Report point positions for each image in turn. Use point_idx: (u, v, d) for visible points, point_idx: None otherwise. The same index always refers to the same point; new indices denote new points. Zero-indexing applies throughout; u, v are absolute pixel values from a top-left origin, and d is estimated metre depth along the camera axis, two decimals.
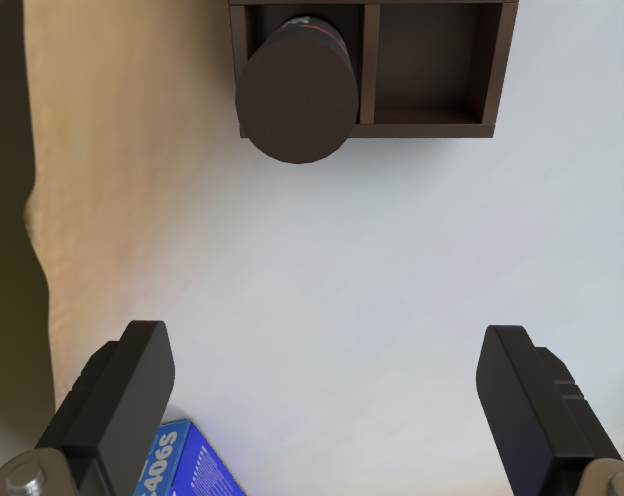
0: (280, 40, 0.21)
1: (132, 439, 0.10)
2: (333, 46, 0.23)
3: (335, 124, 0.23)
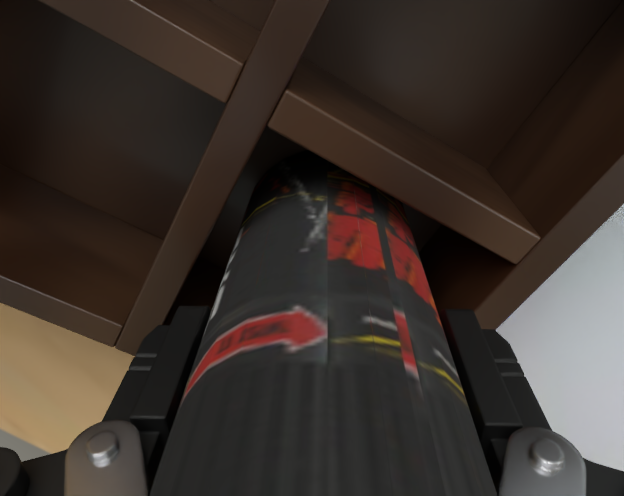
0: None
1: None
2: None
3: None
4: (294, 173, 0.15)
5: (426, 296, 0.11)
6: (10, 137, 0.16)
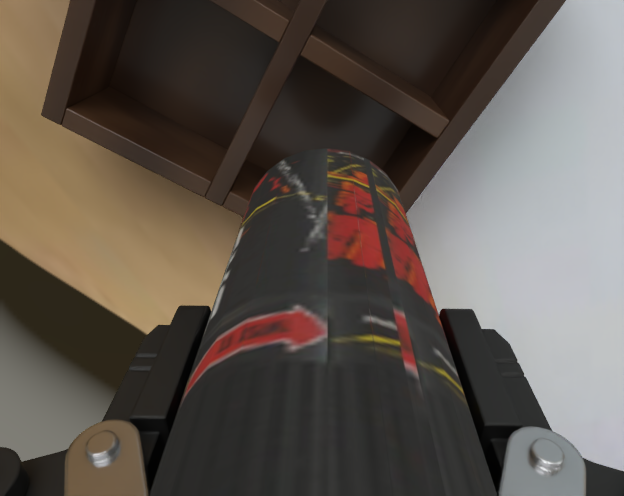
0: None
1: None
2: None
3: None
4: (294, 173, 0.15)
5: (426, 296, 0.11)
6: (134, 77, 0.26)
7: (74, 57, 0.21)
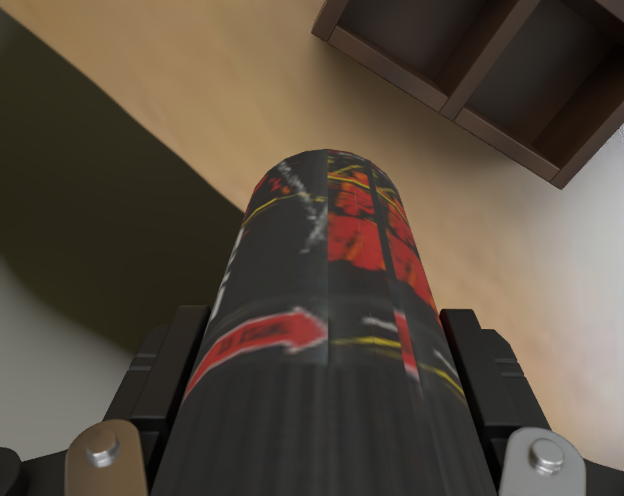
0: None
1: None
2: None
3: None
4: (294, 174, 0.15)
5: (426, 297, 0.11)
6: (360, 9, 0.29)
7: None
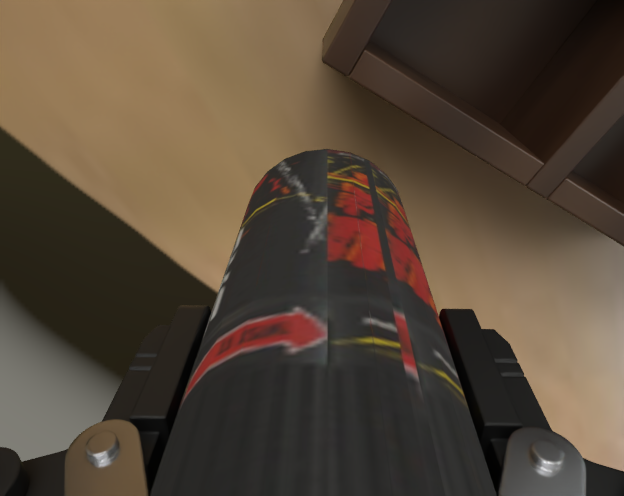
0: None
1: None
2: None
3: None
4: (294, 174, 0.15)
5: (426, 297, 0.11)
6: (395, 18, 0.18)
7: None
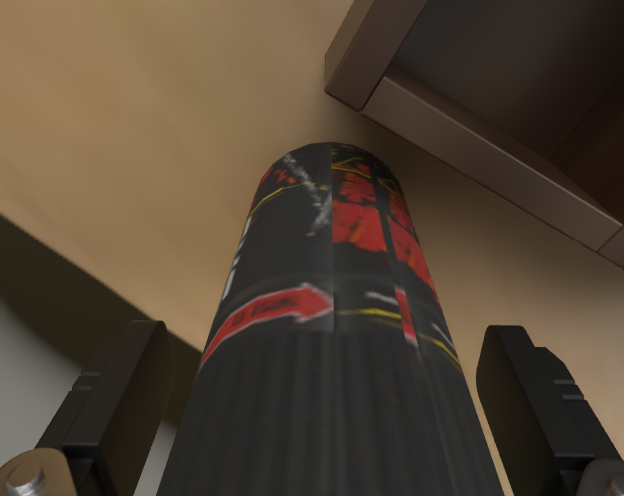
0: None
1: (133, 439, 0.10)
2: None
3: None
4: (299, 165, 0.15)
5: (425, 278, 0.11)
6: (418, 28, 0.14)
7: None
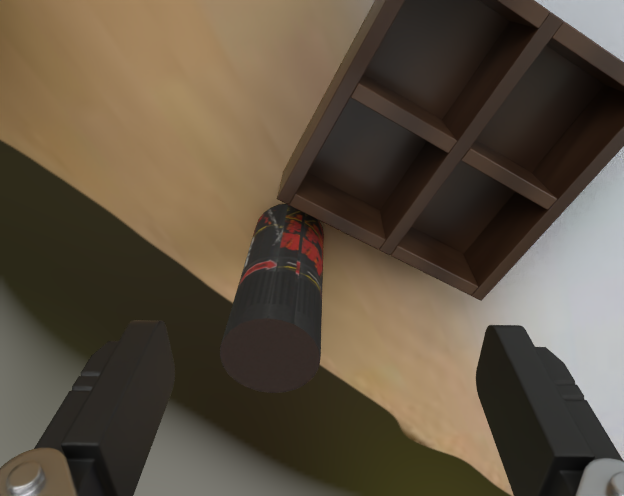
0: (221, 346, 0.27)
1: (132, 439, 0.10)
2: (250, 303, 0.28)
3: (299, 342, 0.27)
4: (273, 215, 0.37)
5: (313, 259, 0.33)
6: (319, 162, 0.36)
7: (309, 163, 0.31)
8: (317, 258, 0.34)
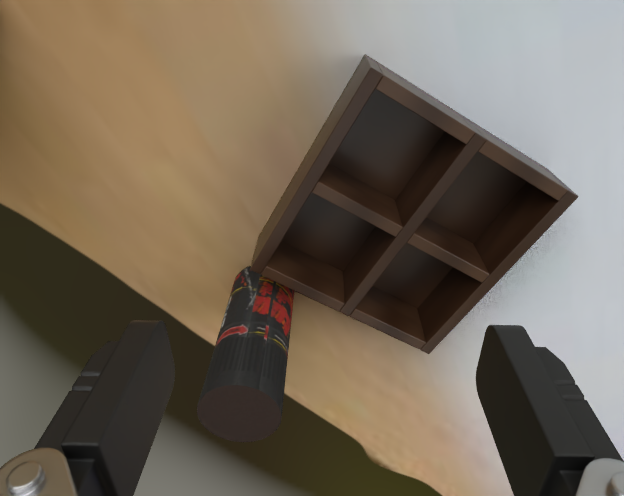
0: (198, 405, 0.32)
1: (132, 439, 0.10)
2: (223, 368, 0.33)
3: (263, 403, 0.32)
4: (249, 276, 0.42)
5: (281, 320, 0.39)
6: (289, 231, 0.42)
7: (277, 242, 0.36)
8: (285, 318, 0.39)
